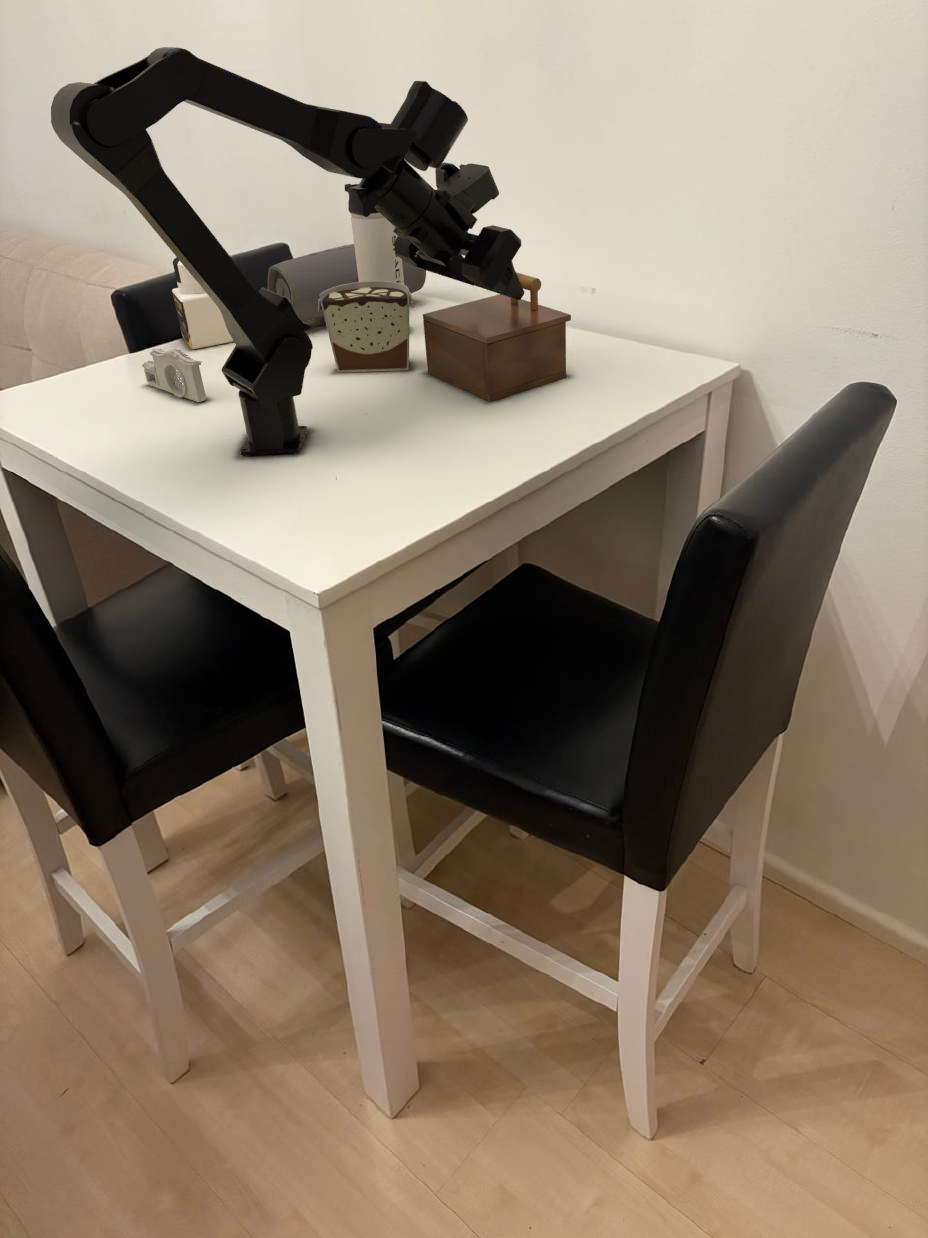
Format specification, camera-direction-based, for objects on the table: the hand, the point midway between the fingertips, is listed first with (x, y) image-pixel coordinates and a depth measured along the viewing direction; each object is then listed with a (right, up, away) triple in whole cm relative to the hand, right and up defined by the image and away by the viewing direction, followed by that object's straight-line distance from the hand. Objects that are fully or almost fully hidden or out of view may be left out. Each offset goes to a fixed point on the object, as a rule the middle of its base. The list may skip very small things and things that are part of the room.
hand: (498, 288), depth 116 cm
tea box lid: (0, -3, +2) cm, 4 cm away
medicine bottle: (-41, +1, +26) cm, 49 cm away
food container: (-16, -6, +12) cm, 21 cm away
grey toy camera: (-41, -11, +8) cm, 43 cm away
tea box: (0, -9, +5) cm, 10 cm away
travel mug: (-15, +1, +23) cm, 28 cm away
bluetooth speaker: (-21, +7, +32) cm, 39 cm away
